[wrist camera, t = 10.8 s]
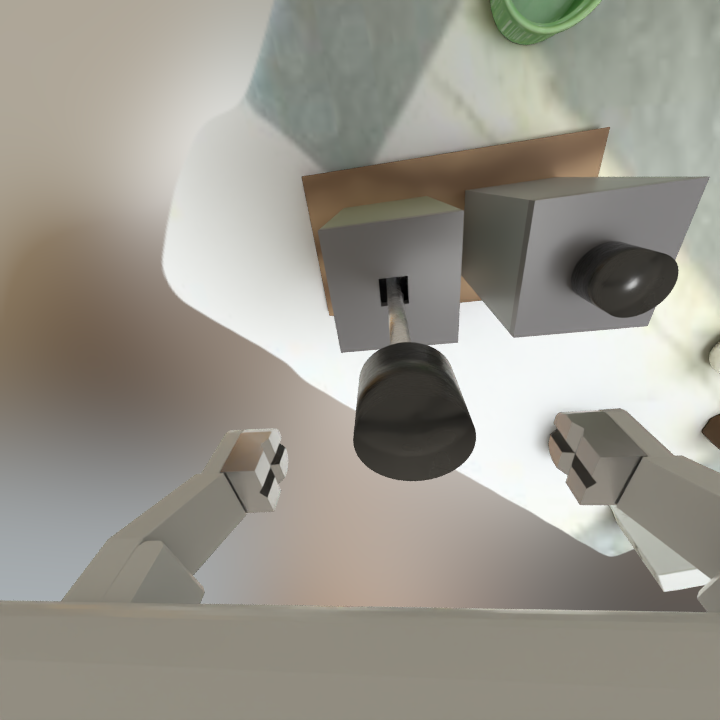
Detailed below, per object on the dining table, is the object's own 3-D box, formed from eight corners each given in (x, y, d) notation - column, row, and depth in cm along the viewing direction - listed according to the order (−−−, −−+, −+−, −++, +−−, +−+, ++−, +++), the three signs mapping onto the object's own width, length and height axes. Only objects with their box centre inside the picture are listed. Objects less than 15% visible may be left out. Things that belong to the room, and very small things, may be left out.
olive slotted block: (344, 208, 32) (317, 230, 19) (426, 195, 31) (464, 210, 18) (355, 287, 37) (341, 352, 23) (427, 279, 36) (457, 342, 22)
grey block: (465, 190, 31) (534, 200, 17) (556, 177, 30) (710, 176, 16) (461, 275, 36) (513, 337, 22) (540, 266, 34) (647, 326, 21)
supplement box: (607, 504, 59) (657, 575, 49) (649, 493, 57) (712, 566, 46) (614, 522, 63) (663, 593, 52) (655, 512, 60) (715, 585, 49)
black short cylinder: (474, 198, 30) (582, 221, 14) (550, 187, 30) (756, 199, 13) (470, 269, 34) (551, 351, 18) (537, 262, 33) (684, 341, 17)
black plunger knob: (341, 229, 23) (257, 346, 7) (435, 216, 22) (578, 316, 6) (354, 315, 27) (318, 515, 11) (435, 307, 26) (524, 511, 10)
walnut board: (304, 176, 32) (301, 176, 31) (600, 129, 29) (610, 126, 28) (331, 311, 41) (329, 315, 39) (562, 287, 37) (569, 291, 36)
